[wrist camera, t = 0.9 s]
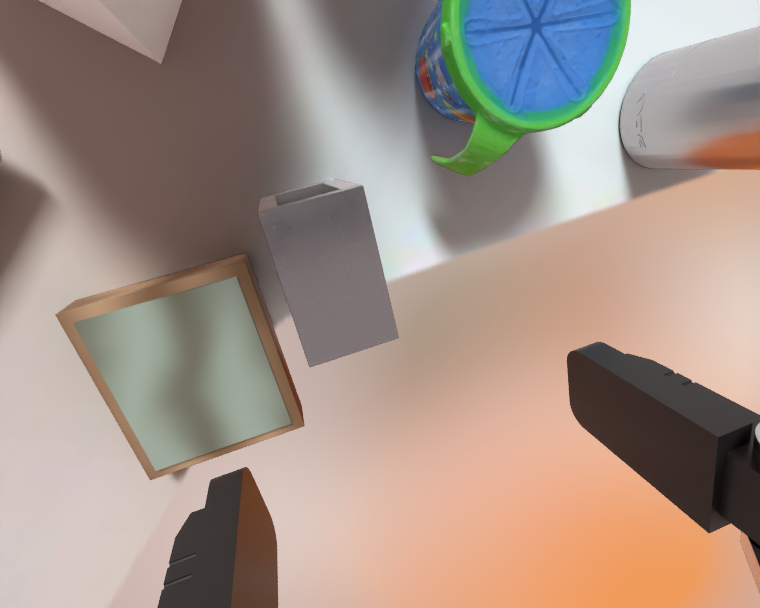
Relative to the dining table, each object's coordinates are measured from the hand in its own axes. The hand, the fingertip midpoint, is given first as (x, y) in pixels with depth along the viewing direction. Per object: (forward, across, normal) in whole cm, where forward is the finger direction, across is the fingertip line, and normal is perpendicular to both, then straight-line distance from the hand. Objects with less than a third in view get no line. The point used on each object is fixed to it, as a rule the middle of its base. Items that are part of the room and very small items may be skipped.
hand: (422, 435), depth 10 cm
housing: (+24, 0, 0) cm, 24 cm away
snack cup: (+24, -14, -10) cm, 30 cm away
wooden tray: (+24, +11, +6) cm, 27 cm away
